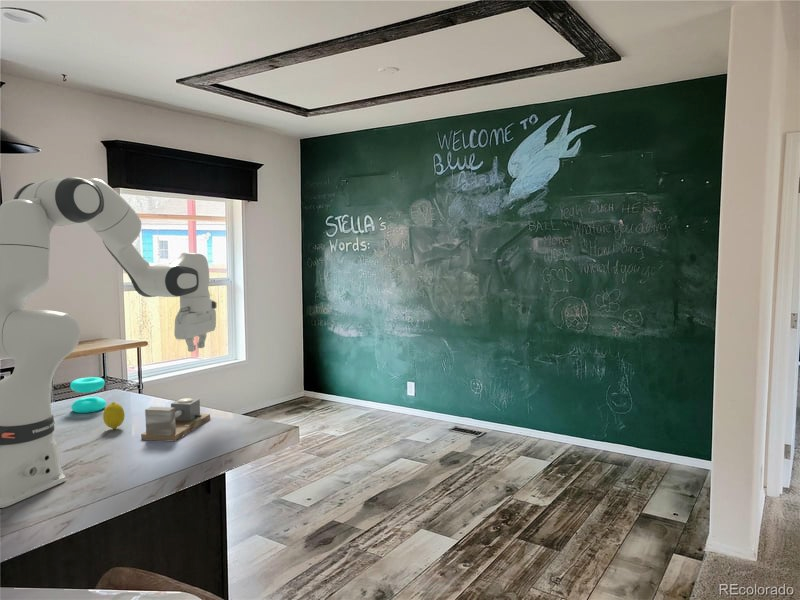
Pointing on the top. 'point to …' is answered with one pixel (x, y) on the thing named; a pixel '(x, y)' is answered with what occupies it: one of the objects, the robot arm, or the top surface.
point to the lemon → (113, 415)
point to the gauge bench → (178, 429)
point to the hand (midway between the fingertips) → (196, 349)
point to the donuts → (89, 402)
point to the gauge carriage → (186, 409)
